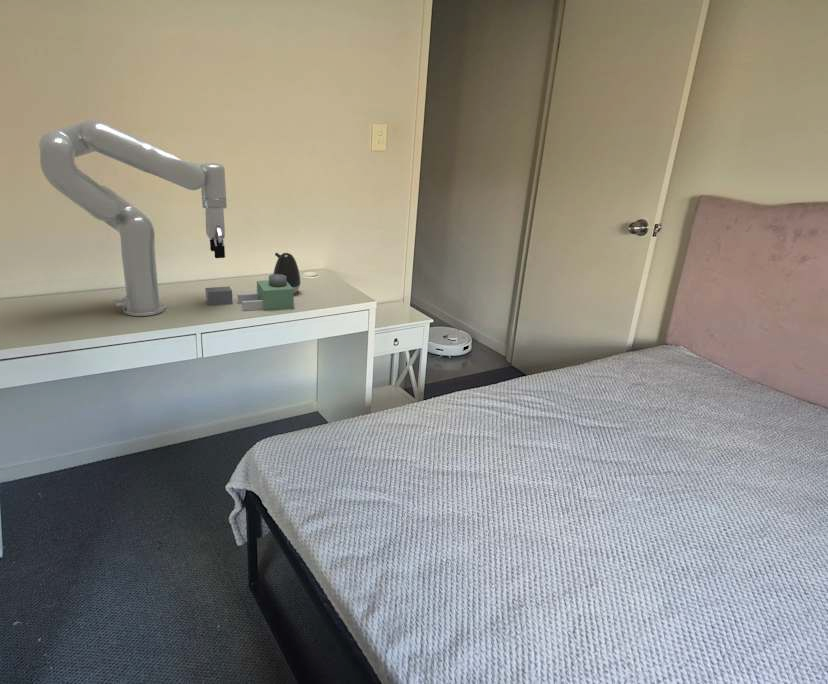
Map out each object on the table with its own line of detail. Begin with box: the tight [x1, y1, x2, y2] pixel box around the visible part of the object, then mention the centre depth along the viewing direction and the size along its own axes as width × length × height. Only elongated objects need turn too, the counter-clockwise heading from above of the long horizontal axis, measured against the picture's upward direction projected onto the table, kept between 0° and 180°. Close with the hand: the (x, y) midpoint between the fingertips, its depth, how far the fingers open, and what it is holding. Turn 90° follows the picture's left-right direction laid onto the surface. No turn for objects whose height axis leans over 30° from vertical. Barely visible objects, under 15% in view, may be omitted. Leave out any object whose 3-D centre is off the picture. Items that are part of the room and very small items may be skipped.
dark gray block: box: [204, 285, 234, 307], centre depth 205 cm, size 8×5×5 cm, turn 117°
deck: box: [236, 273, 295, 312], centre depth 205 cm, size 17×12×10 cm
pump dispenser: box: [273, 252, 301, 294], centre depth 219 cm, size 10×10×15 cm
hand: (217, 254), depth 200 cm, fingers open, 9 cm apart
